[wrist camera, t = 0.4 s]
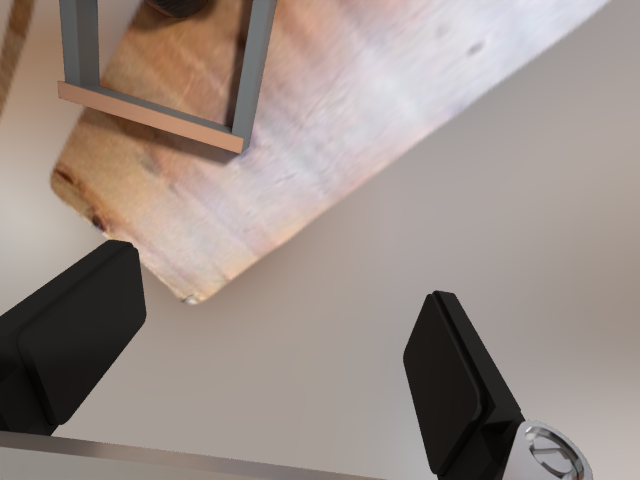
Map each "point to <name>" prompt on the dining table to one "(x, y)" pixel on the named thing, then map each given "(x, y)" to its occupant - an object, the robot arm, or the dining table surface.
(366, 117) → the dining table surface
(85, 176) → the dining table surface
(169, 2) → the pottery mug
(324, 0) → the dining table surface
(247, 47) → the bay
